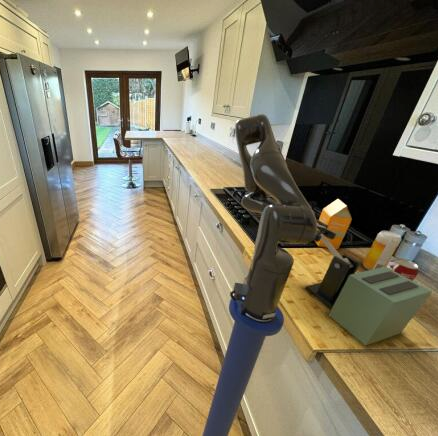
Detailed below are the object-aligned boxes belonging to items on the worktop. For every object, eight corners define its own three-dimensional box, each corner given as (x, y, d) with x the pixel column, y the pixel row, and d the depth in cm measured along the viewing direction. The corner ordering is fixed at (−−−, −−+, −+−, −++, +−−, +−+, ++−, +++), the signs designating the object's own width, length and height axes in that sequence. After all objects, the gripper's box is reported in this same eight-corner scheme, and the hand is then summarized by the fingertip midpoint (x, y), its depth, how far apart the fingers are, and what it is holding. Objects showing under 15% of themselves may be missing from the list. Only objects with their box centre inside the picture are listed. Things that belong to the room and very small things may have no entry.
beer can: (375, 264, 92) (394, 231, 86) (386, 274, 87) (407, 239, 80) (358, 262, 93) (375, 229, 87) (368, 271, 88) (387, 237, 81)
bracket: (304, 288, 78) (320, 251, 72) (322, 284, 81) (339, 248, 74) (334, 311, 70) (355, 272, 63) (353, 306, 72) (375, 267, 66)
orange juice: (317, 246, 103) (335, 204, 94) (311, 236, 111) (327, 196, 102) (338, 249, 101) (358, 207, 92) (330, 239, 109) (348, 199, 100)
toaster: (328, 315, 69) (349, 274, 62) (361, 305, 72) (385, 265, 66) (365, 345, 60) (395, 301, 53) (401, 333, 64) (433, 290, 57)
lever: (309, 235, 76) (315, 231, 74) (321, 233, 78) (326, 229, 76) (338, 271, 69) (345, 268, 67) (350, 269, 70) (357, 265, 68)
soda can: (407, 299, 76) (428, 269, 70) (388, 299, 75) (407, 269, 70) (386, 284, 82) (404, 256, 76) (368, 285, 81) (385, 256, 76)
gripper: (271, 208, 84) (314, 230, 70) (302, 204, 88) (348, 225, 74) (266, 226, 88) (305, 251, 73) (296, 222, 92) (339, 245, 77)
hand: (326, 237), depth 74 cm, fingers open, 5 cm apart
